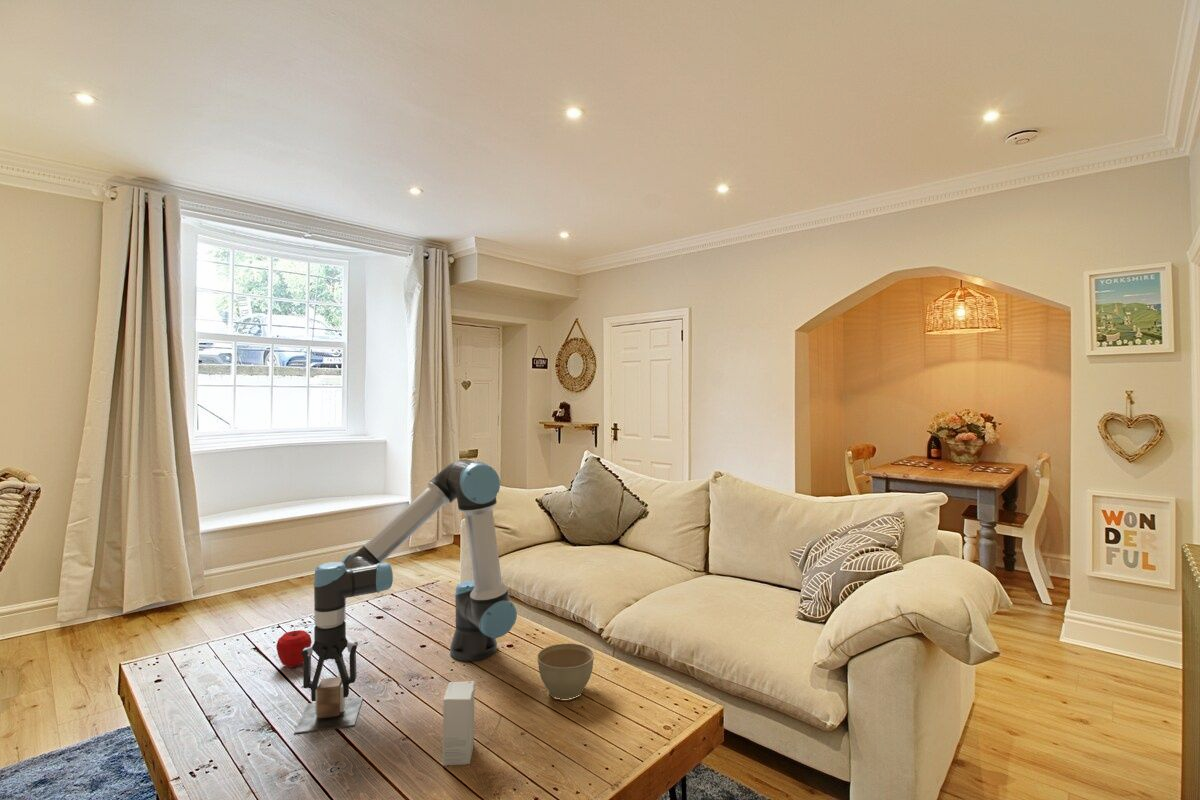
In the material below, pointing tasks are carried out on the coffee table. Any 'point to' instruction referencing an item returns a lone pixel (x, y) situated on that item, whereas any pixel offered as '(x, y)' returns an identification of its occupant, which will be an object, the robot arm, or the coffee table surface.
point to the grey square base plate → (329, 718)
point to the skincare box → (458, 723)
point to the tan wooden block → (328, 697)
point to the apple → (293, 647)
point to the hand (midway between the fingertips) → (330, 710)
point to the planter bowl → (565, 669)
